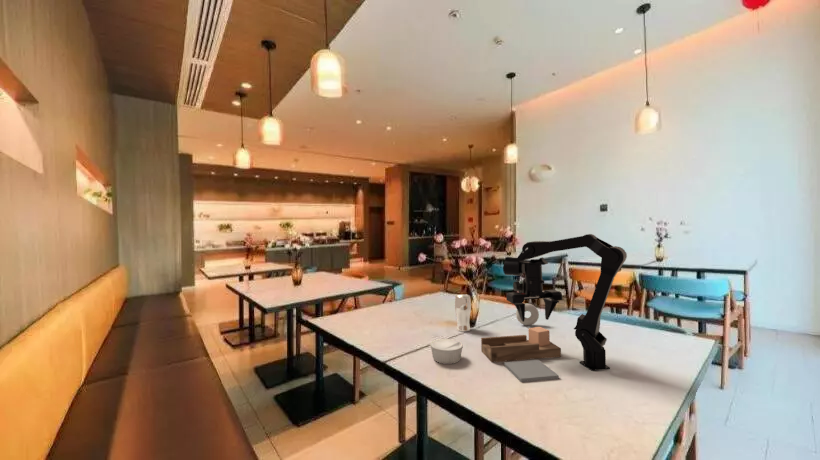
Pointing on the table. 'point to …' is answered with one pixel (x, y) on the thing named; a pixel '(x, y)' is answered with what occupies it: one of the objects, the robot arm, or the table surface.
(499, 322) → the table surface
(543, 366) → the mat
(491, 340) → the divided wooden tray
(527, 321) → the donut
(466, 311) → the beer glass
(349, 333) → the table surface
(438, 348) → the ramekin
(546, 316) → the robot arm
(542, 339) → the block
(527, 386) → the table surface
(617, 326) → the table surface
